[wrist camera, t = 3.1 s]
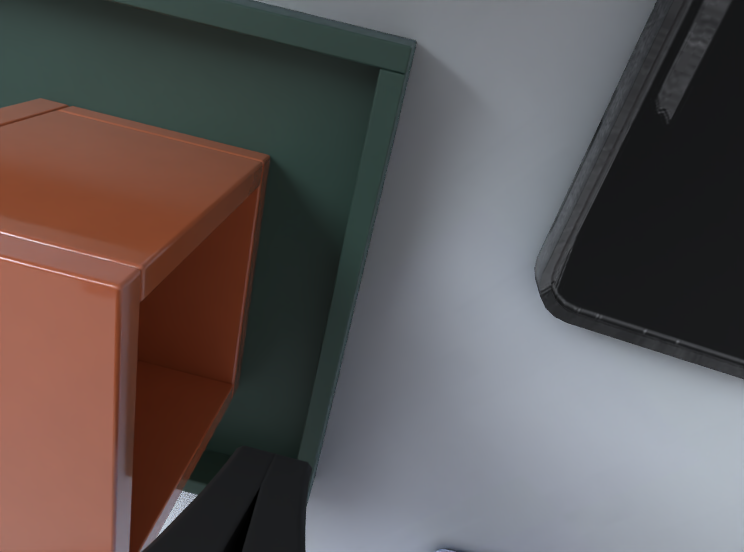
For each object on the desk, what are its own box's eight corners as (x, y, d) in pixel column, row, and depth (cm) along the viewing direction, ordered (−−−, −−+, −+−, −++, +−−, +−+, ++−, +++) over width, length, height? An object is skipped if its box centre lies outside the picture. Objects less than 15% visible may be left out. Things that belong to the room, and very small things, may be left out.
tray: (314, 480, 21) (302, 522, 20) (-231, 339, 22) (-289, 369, 20) (417, 40, 14) (412, 46, 13) (-379, -155, 15) (-486, -174, 13)
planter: (271, 154, 16) (121, 286, 9) (238, 387, 19) (112, 618, 12) (39, 96, 16) (-300, 179, 9) (49, 339, 19) (-186, 539, 12)
